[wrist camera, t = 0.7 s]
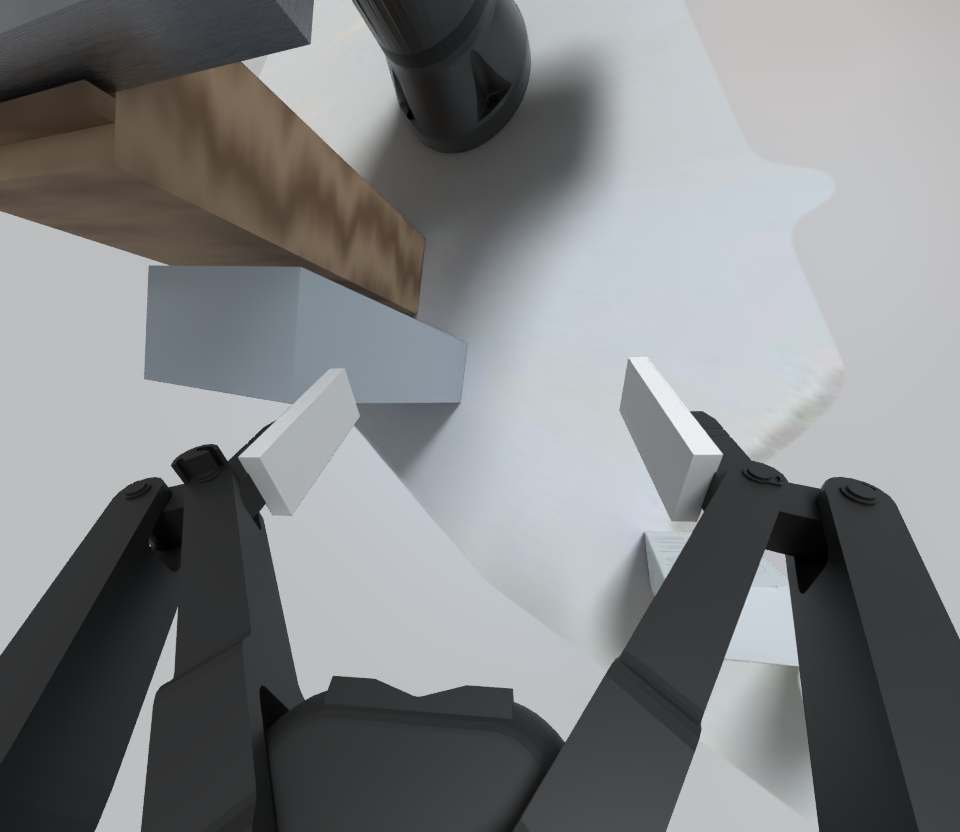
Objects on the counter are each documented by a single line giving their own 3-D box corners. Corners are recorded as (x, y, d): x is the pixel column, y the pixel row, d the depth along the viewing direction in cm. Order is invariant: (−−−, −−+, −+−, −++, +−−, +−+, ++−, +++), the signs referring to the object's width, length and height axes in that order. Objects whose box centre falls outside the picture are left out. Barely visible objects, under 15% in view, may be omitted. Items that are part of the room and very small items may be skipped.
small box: (649, 584, 35) (670, 656, 25) (643, 529, 35) (662, 580, 25) (742, 588, 32) (807, 672, 22) (736, 529, 32) (798, 586, 22)
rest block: (380, 336, 44) (148, 265, 21) (467, 343, 40) (300, 266, 17) (374, 390, 44) (144, 378, 22) (460, 402, 41) (290, 403, 18)
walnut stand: (307, 240, 47) (-99, 13, 19) (425, 238, 41) (88, -85, 14) (302, 307, 48) (-96, 179, 20) (417, 314, 42) (82, 149, 15)
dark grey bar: (-58, 46, 20) (-158, -7, 18) (322, -114, 12) (240, -269, 9) (-58, 171, 21) (-154, 137, 18) (305, 108, 12) (224, 26, 9)
